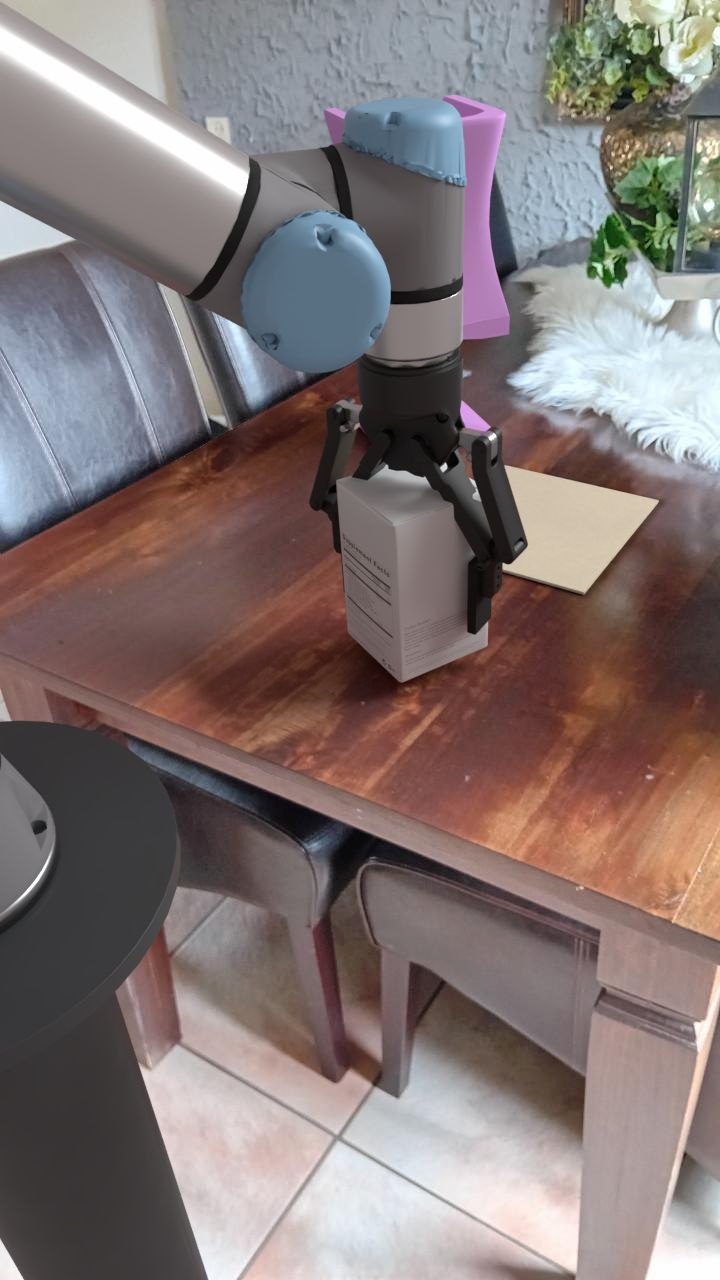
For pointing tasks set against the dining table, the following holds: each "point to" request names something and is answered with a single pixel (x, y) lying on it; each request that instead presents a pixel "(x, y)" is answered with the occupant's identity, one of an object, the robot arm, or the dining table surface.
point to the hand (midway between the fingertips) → (415, 605)
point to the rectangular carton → (405, 572)
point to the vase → (471, 225)
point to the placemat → (571, 528)
